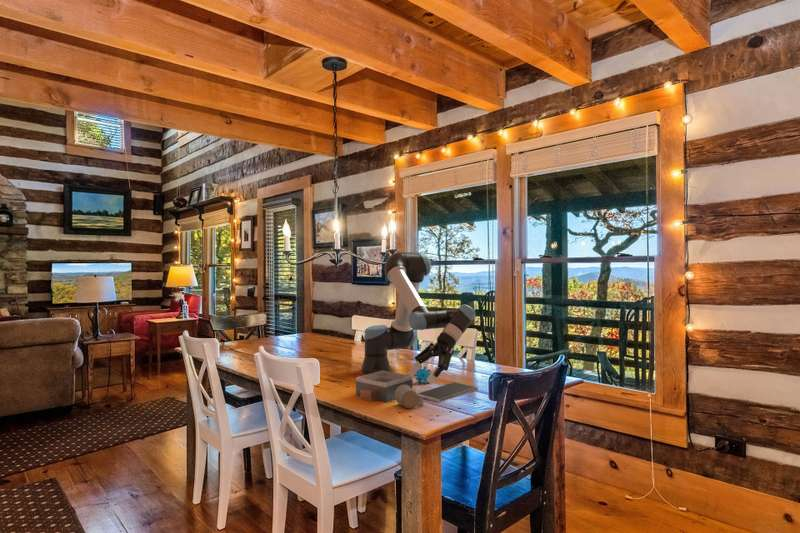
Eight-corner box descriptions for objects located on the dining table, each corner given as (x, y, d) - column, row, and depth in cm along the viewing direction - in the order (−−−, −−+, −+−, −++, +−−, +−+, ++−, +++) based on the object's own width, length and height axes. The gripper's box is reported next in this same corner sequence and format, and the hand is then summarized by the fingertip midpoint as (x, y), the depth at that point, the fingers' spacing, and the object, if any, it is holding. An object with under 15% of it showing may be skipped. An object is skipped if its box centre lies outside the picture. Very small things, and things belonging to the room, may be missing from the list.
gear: (417, 382, 213) (411, 363, 220) (411, 389, 217) (407, 371, 223) (438, 383, 218) (432, 364, 224) (432, 389, 221) (427, 371, 228)
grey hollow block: (350, 396, 197) (350, 378, 197) (382, 386, 212) (382, 370, 212) (381, 404, 186) (381, 385, 186) (412, 393, 201) (412, 375, 201)
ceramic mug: (402, 410, 178) (402, 390, 178) (394, 404, 185) (394, 385, 185) (427, 407, 182) (427, 387, 182) (418, 401, 189) (418, 382, 189)
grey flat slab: (414, 397, 197) (414, 393, 197) (455, 385, 216) (454, 381, 216) (438, 404, 187) (438, 400, 187) (478, 390, 206) (478, 386, 206)
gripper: (474, 347, 183) (443, 391, 176) (436, 339, 205) (408, 378, 197) (463, 335, 181) (431, 379, 173) (426, 328, 202) (397, 367, 194)
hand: (419, 379), depth 185 cm, fingers open, 13 cm apart
